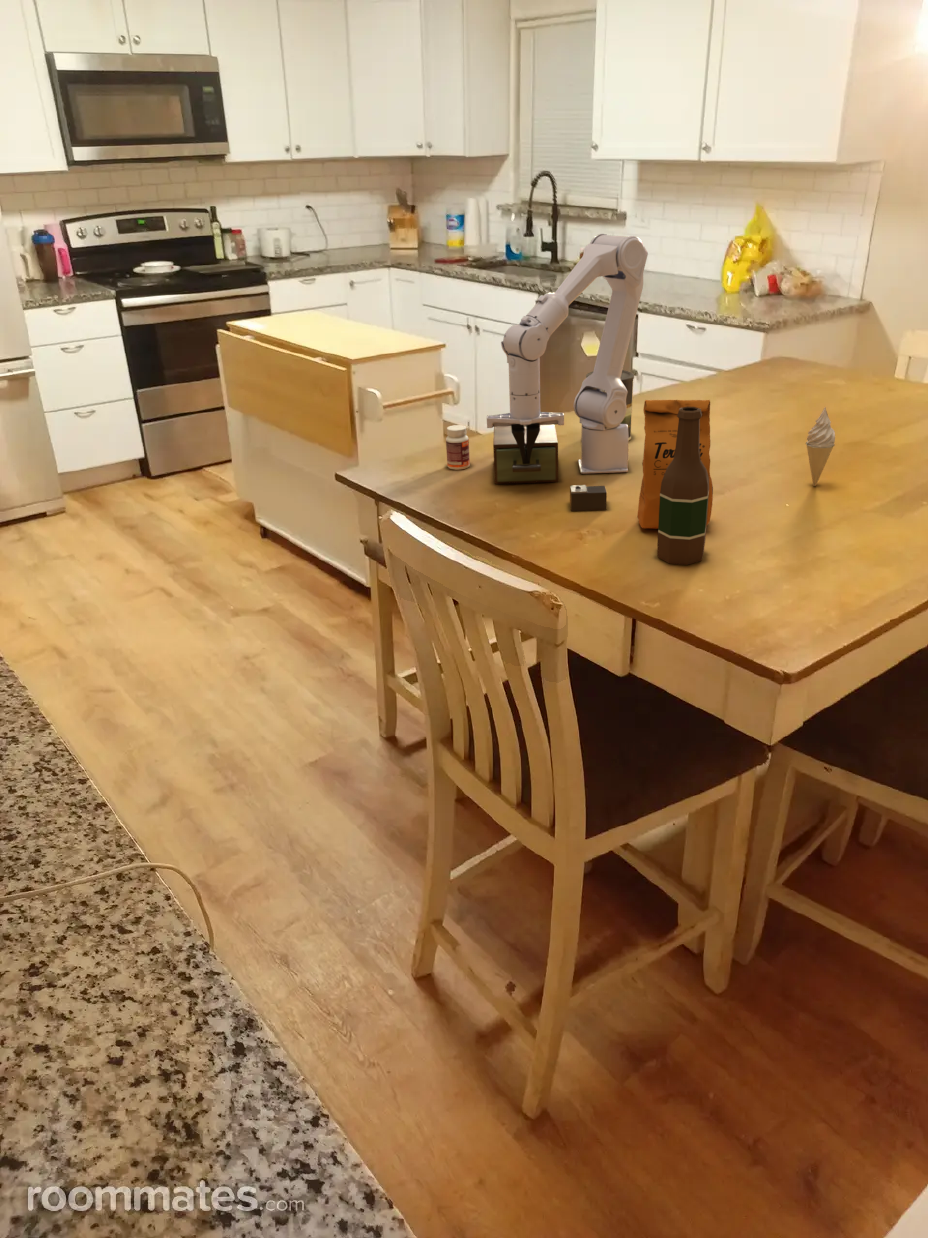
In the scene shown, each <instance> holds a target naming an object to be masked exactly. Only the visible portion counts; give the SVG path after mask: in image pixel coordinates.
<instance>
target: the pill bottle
mask: <svg viewBox="0 0 928 1238" xmlns="http://www.w3.org/2000/svg"><path fill="white" fill-rule="evenodd" d="M467 433H468V432H467V426H465V425H462V424H454V425H449V426H447V427H446V434H447V436H446V437H445V449H446V463H447V468H448V469H450V470H457V471H460V470H464V469H468V468H469V467H470V466H471V465H470V464H471V463H470V462H471V461H470V439H469V436H468V435H467Z"/></svg>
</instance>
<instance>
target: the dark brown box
mask: <svg viewBox="0 0 928 1238" xmlns="http://www.w3.org/2000/svg"><path fill="white" fill-rule="evenodd" d="M607 493H608V491H607V489H606V486H605V485H586V484H577V485H576V484H575V485H574V484H573V485H570V487H569V507H570V511H571V512H583V511H584V512H585V511H586V512H587V511H606V510H607V497H608V495H607Z"/></svg>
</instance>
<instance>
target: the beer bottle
mask: <svg viewBox="0 0 928 1238" xmlns="http://www.w3.org/2000/svg"><path fill="white" fill-rule="evenodd" d="M677 417H678V418H679V423H678V431H677V439H676V448H675V454H674V458H673V460H672V462H671V463H670V464H669V466H668V467H667V469H666V472H665V474H664V477H663V479H662V482H661V490H660V504H659V524H658V529H657V544H656V545H657V548H656V551H657V553H656V555H657V558H658V559H660V560H662V561H664V562H666V563H668V564H669V565H682V566H689V565H693V564H695V563H699V562H702V560H703V558H704V557H703V556H704V553H705V546H706V534H707V526H706V524H707V511H708V498H709V476H708V473H707V469H706V468H705V466H704V464H703V463H702V461H701V459H700V450H699V446H700V418H701V417H702V412H701V409H699V408H697V407H688V406H687V407H683V408H680V409H679V412H678V415H677Z"/></svg>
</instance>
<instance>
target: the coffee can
mask: <svg viewBox="0 0 928 1238" xmlns="http://www.w3.org/2000/svg"><path fill="white" fill-rule="evenodd" d="M592 373H593V371H590V372H587V374H586V375H585V379H586V378H587V377H588V376H590V375H591V374H592ZM620 379H621V381H622V383H623V384H624V386H625V387H626V389H627V391H628V393H627V397H626V406H627V410H626V415H625V417H624V419H623V421H622V422H621V423H620V424H627V426H628V438H629V441H630V440H632V423H633V422H632V421H633V401H634V379H635V374H634V372H631V371H629V370H625V369H624V370H622V374H621V378H620ZM600 391H602V392H605V393H606V391H605V390H602V389H601V390H600Z"/></svg>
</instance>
